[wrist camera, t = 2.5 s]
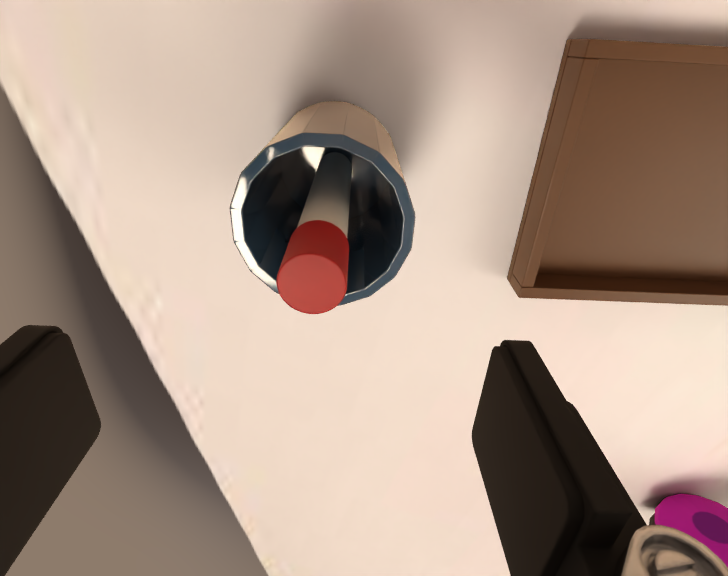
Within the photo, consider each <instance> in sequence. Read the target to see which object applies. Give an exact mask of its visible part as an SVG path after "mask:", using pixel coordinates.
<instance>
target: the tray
mask: <svg viewBox="0 0 728 576" xmlns="http://www.w3.org/2000/svg"><path fill="white" fill-rule="evenodd" d="M507 279H508V281H509V282H510V284H511V286H512V287H513V289H514V291H515V292H516V294H517V295H518V297H519V298H543V299H570V300H596V301H622V302H649V303H675V304H701V305H728V47H723V46H705V45H688V44H670V43H653V42H635V41H618V40H600V39H568V40H567V42H566V46H565V50H564V54H563V58H562V62H561V66H560V70H559V74H558V78H557V82H556V86H555V90H554V94H553V98H552V102H551V106H550V110H549V114H548V118H547V122H546V126H545V130H544V134H543V138H542V142H541V146H540V150H539V154H538V158H537V162H536V166H535V170H534V174H533V177H532V181H531V185H530V189H529V193H528V197H527V201H526V205H525V209H524V213H523V217H522V221H521V225H520V229H519V233H518V237H517V241H516V245H515V249H514V253H513V257H512V261H511V265H510V269H509V273H508V277H507Z"/></svg>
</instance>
